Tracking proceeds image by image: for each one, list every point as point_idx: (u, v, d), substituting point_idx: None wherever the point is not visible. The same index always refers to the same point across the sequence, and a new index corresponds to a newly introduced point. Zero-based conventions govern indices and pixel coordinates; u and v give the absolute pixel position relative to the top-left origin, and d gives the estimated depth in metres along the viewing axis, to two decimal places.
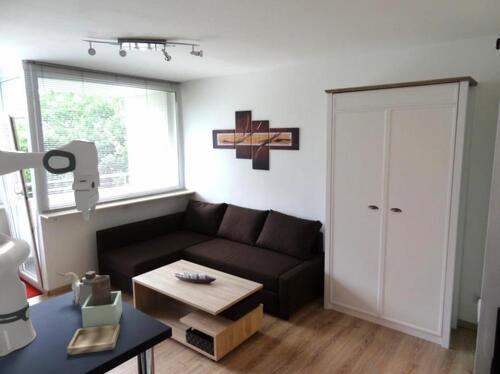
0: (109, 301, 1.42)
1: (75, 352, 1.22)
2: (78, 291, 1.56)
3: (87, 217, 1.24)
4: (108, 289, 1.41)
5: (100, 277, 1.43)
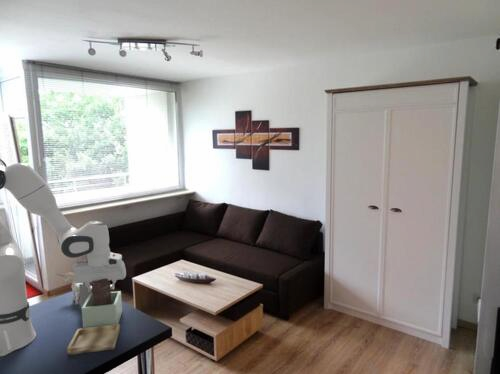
0: (109, 301, 1.42)
1: (75, 352, 1.22)
2: (78, 291, 1.56)
3: (113, 285, 1.44)
4: (108, 289, 1.41)
5: None
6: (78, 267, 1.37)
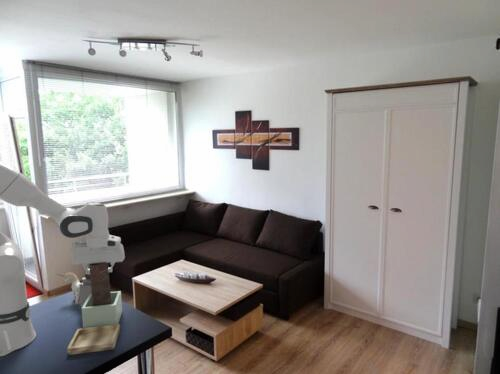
0: (107, 285, 1.41)
1: (75, 352, 1.22)
2: (78, 291, 1.56)
3: None
4: (106, 273, 1.40)
5: None
6: (76, 248, 1.36)
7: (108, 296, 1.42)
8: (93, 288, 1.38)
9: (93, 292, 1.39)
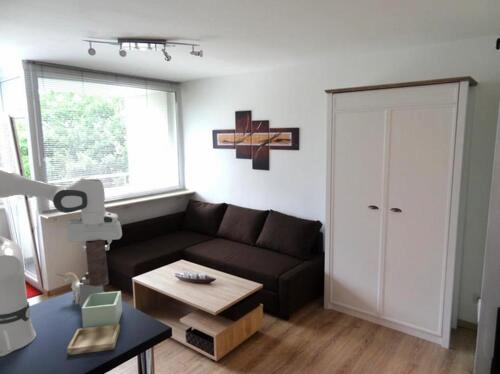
0: (104, 263, 1.36)
1: (75, 352, 1.22)
2: (78, 291, 1.56)
3: None
4: (103, 251, 1.35)
5: None
6: (72, 225, 1.31)
7: (105, 275, 1.37)
8: (90, 266, 1.34)
9: (90, 270, 1.34)
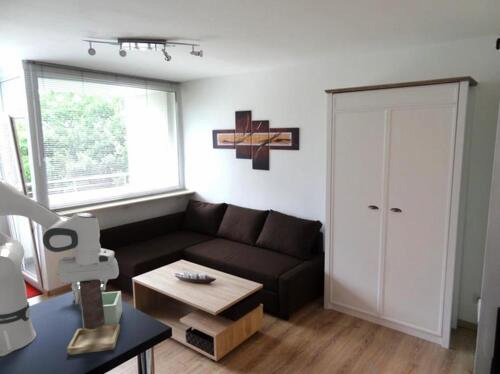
0: (100, 304, 1.27)
1: (75, 352, 1.22)
2: None
3: None
4: (99, 291, 1.26)
5: None
6: (64, 265, 1.22)
7: (101, 317, 1.27)
8: (84, 308, 1.24)
9: (84, 313, 1.25)
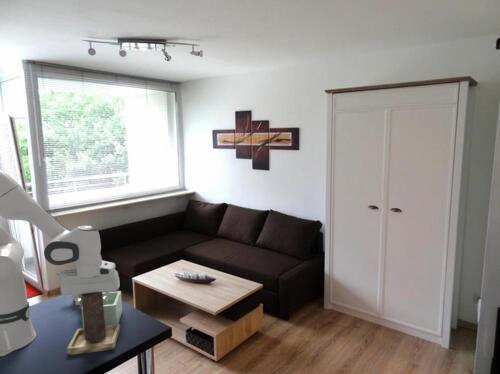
0: (101, 317, 1.27)
1: (75, 352, 1.22)
2: None
3: (107, 297, 1.29)
4: (100, 304, 1.27)
5: None
6: (66, 277, 1.23)
7: (103, 329, 1.28)
8: (86, 321, 1.25)
9: (86, 325, 1.25)
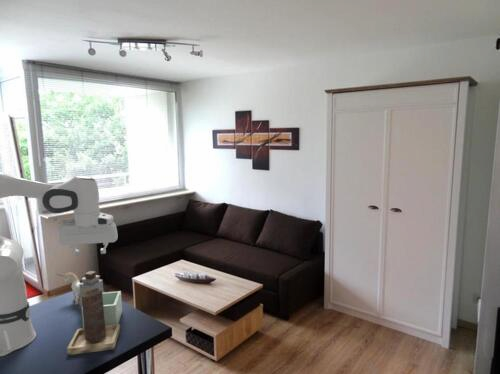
0: (101, 317, 1.27)
1: (75, 352, 1.22)
2: (78, 291, 1.56)
3: (105, 249, 1.29)
4: (100, 304, 1.27)
5: (91, 290, 1.28)
6: (64, 227, 1.23)
7: (103, 329, 1.28)
8: (86, 321, 1.25)
9: (86, 325, 1.25)
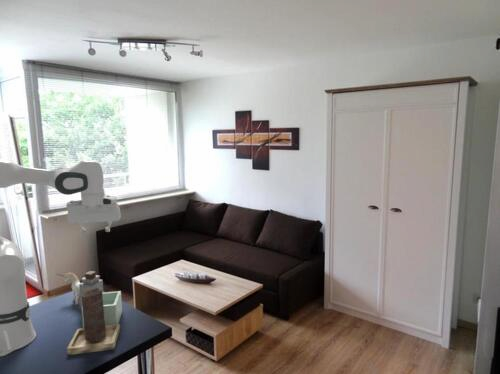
0: (101, 317, 1.27)
1: (75, 352, 1.22)
2: (78, 291, 1.56)
3: (109, 228, 1.42)
4: (100, 304, 1.27)
5: (91, 290, 1.28)
6: (72, 207, 1.35)
7: (103, 329, 1.28)
8: (86, 321, 1.25)
9: (86, 325, 1.25)
